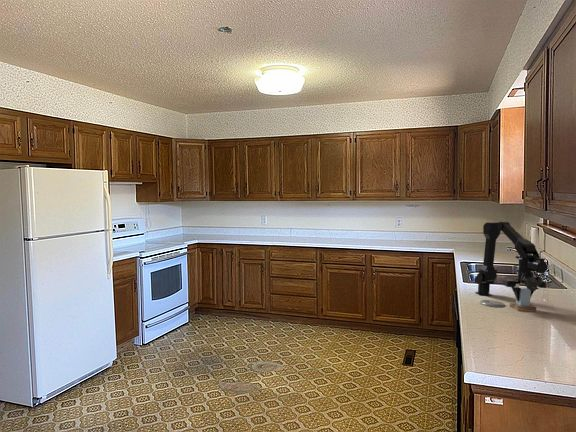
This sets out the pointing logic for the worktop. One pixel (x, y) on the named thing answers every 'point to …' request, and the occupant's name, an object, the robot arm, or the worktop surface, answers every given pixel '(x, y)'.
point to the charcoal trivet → (492, 303)
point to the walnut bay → (522, 307)
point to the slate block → (524, 297)
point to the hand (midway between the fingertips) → (522, 300)
